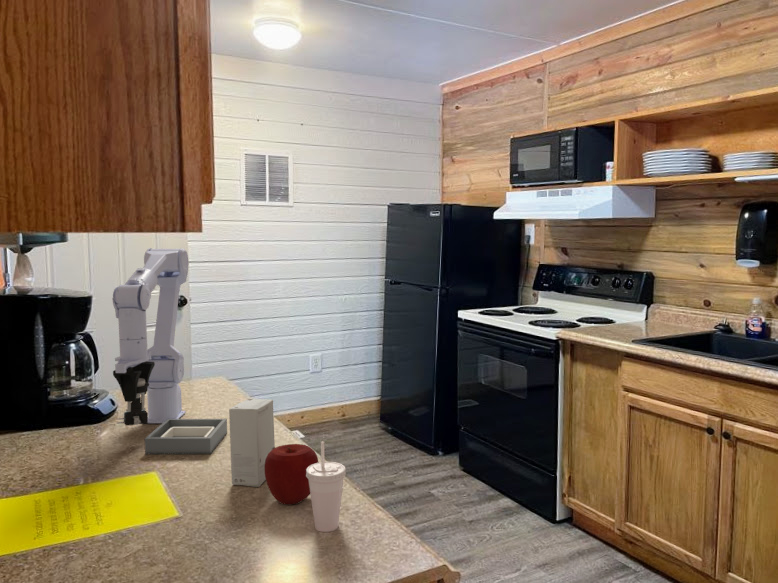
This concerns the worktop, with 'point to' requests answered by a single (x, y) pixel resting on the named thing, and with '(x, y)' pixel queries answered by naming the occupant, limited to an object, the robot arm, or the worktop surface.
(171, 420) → the grey square tray
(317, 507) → the smoothie
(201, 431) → the cream rectangular frame
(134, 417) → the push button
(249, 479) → the skincare box
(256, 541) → the worktop surface
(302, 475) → the apple
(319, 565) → the worktop surface
